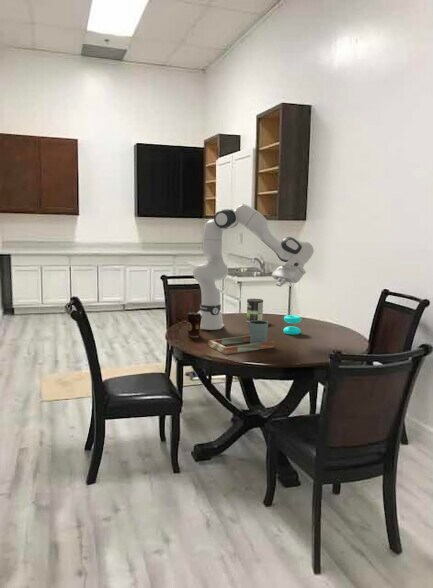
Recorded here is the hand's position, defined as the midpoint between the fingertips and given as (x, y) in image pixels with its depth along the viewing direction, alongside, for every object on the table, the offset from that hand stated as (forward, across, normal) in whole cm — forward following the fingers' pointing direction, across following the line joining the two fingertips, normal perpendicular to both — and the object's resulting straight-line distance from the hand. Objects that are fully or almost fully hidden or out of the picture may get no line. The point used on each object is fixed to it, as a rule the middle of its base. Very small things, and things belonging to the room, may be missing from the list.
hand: (278, 285), depth 265 cm
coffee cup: (+48, -25, -6) cm, 54 cm away
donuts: (+10, -6, +32) cm, 34 cm away
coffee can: (+11, -43, +31) cm, 54 cm away
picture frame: (+40, +6, +1) cm, 41 cm away
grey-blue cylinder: (+32, +6, +9) cm, 34 cm away
